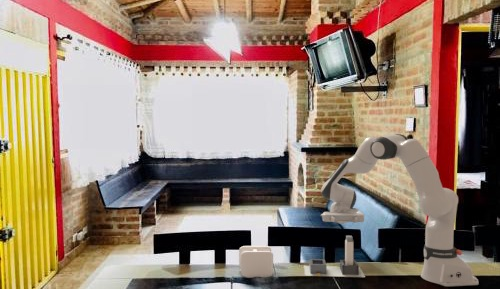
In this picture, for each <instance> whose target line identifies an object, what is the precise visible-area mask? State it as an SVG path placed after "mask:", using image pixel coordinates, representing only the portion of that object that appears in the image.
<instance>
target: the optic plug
mask: <svg viewBox="0 0 500 289" xmlns="http://www.w3.org/2000/svg"><path fill="white" fill-rule="evenodd" d="M344 260H345V265H353V260H354V239H353V236H352V235H345V240H344Z"/></svg>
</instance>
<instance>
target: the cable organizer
mask: <svg viewBox="0 0 500 289" xmlns="http://www.w3.org/2000/svg"><path fill="white" fill-rule="evenodd" d="M238 267H239V268H238V269H240V274H241V276H243V277H244V278H248V279H250V278H251V279H252V278H255V277H261V278H269V277H271V276H273V275H274V254H273V252H272V248H271V246H268V245H243V246H241V247H239V249H238Z"/></svg>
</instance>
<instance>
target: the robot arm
mask: <svg viewBox="0 0 500 289" xmlns="http://www.w3.org/2000/svg"><path fill="white" fill-rule="evenodd" d="M396 158H399V159H400V160H401V161H402V164H403V165H404V167H405V169H406V171H407V173H408V175H409V176H410V178H411V180H412V181H413V184H414V187H415V189H416V192H417V196H418V199H419V204H420V205H419V206H420V210H421V211H422V213H423V214H424V215H426V216H428V218H427V221H426V225H425V233H424V236H425V237H424V238H425V239H424V242H425V244H424V246H423V257H424V259H423V260H424V261H423V267H422V270H421V274H420V277H421V278H422V279H423V280H425V281H428V282H430V283H434V284H437V285H440V286H443V287H463V286H465V287H466V286H478V285H480V284H479V279H478V278H477V277H476V276H475V275H473V270H472V268H471V266H470V265H469V264H468V263H467V262H465V260H463V259H462V258H460V257H459V256H462V255H463V251H461V250H460V249H457V248H456V247H455V246H454V228H455V223H456V218H457V211H458V204H459V196H458V195H457V193H456V192H455V191H454V190H453V189H450V188H447V187H443V184H442V182H441V179H440V175H439V171H438V169H437V168H436V166H435V164H434V162H433V161H432V159H431V157H430V155H429V153H428V152H427V150H426V149H425V148H424V146H423V145H422V144H421V143H420V142H419V141H418V140H417V139H415V138H408V137H407V136H406V135H404V134H399V133H395V134H387V135H383V136H379V137H375V136H368V137H366V138H365V139H364V140H363V141H362V142H361V144H360V145H359V146H358V148H357V150H356V152H355V154H353V155H352V156H351V157H349V158H345V159H344V160H343V161H342V162H341V163H340V164H339V165H338V166H337V167H336V169H335V170H334V171H333V173H332V174H331V175H330V176H329V178H328V179H327V180H326V181H325V182H324V183H323V184H322V186H321V188H320V194H321V196H322V198H323V199H325V200H328V201H332V203H331V205H330V208H329V209H330V210H329V211H324V212H323V213H321V214H320V216H321V218H322V221H323V222H326V223H327V222H328V223H330V222H333V223H336V224H340V225H341V224H347V223H364V222H365V214H364V213H363V212H362V211H360V210H359V209H358V208H356V207H354V206H355V204H356V202H357V193H356V191H355V189H353V188H351V187H348V186H345V185H342V184H339V183H338V182H339V181H340V179H342V177H343V176H345V175H346V174H359V175H362V174H367V173H370V172H371V171H372V170H373V169H374V167H375V166H376V164H377V162H378V161H379V160H384V161H385V160H391V159H396Z"/></svg>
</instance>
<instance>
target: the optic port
mask: <svg viewBox="0 0 500 289" xmlns="http://www.w3.org/2000/svg"><path fill="white" fill-rule="evenodd" d="M308 266H309V268H310V273H311V274H317V273H320V274H326V266H327V263H326V260H325V258H323V259H322V258H318V259H317V258H316V259H315V258H309V265H308Z"/></svg>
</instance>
